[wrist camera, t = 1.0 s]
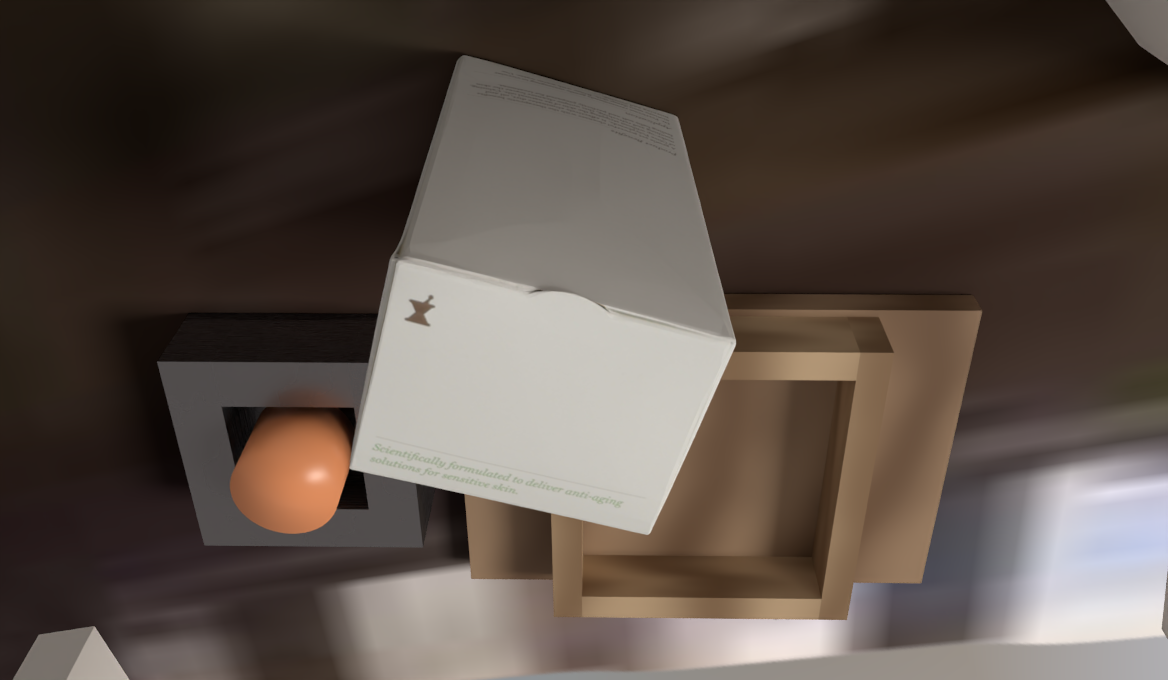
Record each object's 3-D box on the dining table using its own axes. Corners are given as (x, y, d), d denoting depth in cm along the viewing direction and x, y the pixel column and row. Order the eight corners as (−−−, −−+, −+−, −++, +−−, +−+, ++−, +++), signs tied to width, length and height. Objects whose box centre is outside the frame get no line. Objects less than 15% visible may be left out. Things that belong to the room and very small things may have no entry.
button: (264, 475, 44) (240, 533, 41) (248, 394, 41) (220, 450, 39) (362, 475, 44) (344, 534, 41) (350, 395, 41) (330, 450, 38)
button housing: (229, 490, 47) (204, 545, 44) (189, 313, 42) (156, 361, 39) (434, 491, 46) (422, 547, 44) (416, 314, 42) (402, 363, 39)
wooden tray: (474, 559, 49) (465, 620, 45) (453, 292, 41) (440, 343, 38) (914, 564, 48) (935, 625, 45) (972, 294, 41) (1003, 346, 38)
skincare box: (419, 207, 39) (325, 475, 26) (461, 36, 36) (377, 245, 23) (635, 267, 41) (649, 553, 27) (694, 107, 37) (743, 345, 24)
